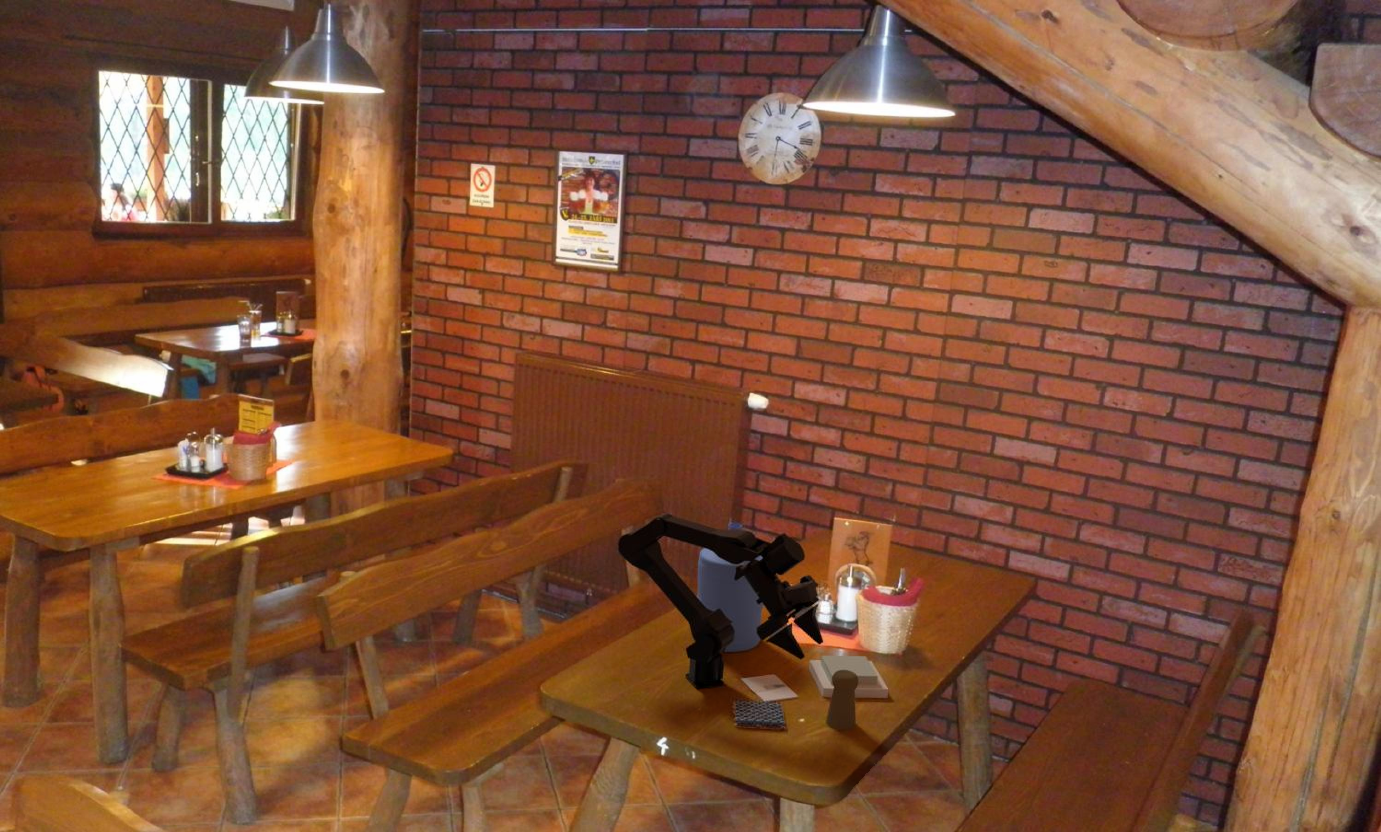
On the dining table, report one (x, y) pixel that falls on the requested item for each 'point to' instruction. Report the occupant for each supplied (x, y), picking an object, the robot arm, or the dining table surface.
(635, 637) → the dining table surface
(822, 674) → the tower base
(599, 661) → the dining table surface
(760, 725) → the woven mat
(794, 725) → the dining table surface
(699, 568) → the water jug
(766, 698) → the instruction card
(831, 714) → the brown tapered knobbed post
